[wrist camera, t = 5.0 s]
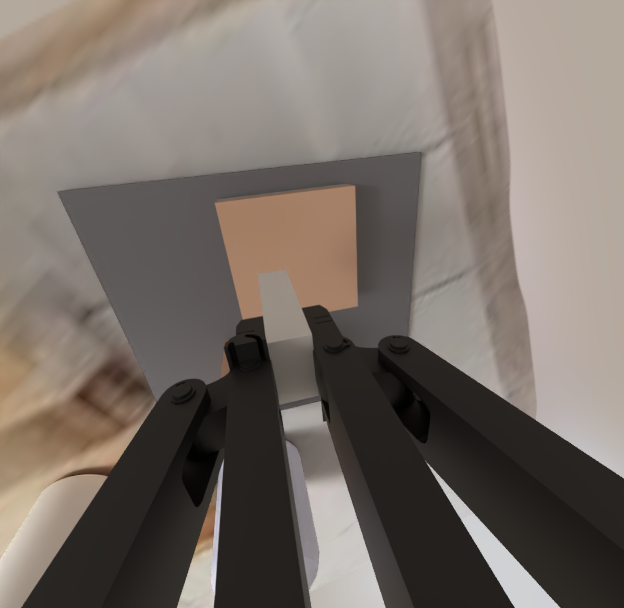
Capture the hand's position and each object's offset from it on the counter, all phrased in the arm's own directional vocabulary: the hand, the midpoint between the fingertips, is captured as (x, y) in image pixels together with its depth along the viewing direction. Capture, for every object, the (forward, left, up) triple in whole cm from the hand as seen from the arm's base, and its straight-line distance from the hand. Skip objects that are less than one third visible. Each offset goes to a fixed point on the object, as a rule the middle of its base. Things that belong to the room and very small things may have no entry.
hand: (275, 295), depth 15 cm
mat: (0, -5, -8) cm, 9 cm away
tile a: (-3, 0, -6) cm, 6 cm away
